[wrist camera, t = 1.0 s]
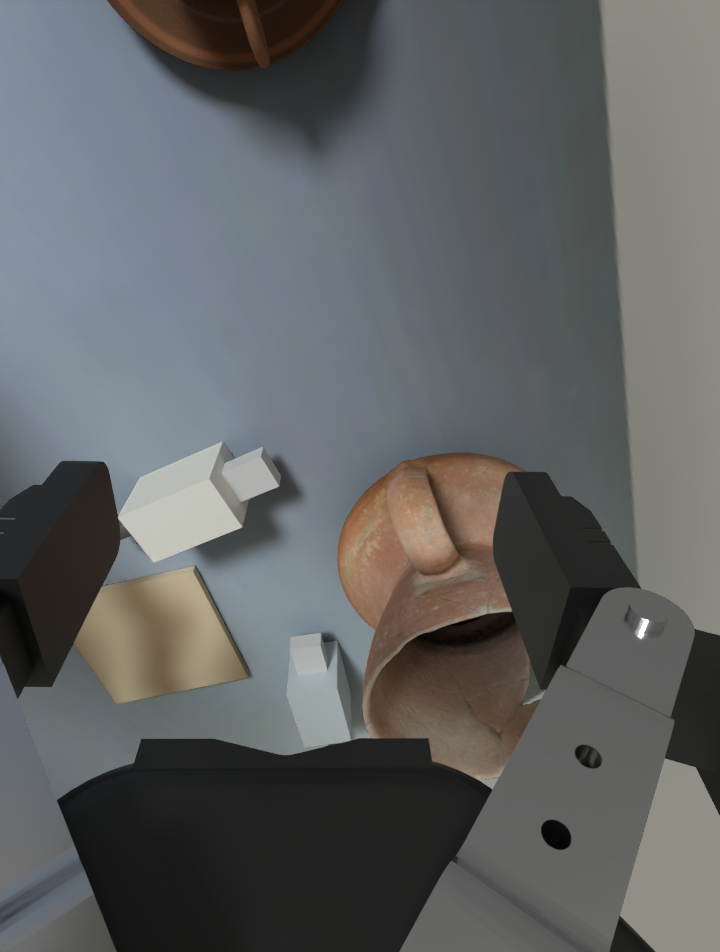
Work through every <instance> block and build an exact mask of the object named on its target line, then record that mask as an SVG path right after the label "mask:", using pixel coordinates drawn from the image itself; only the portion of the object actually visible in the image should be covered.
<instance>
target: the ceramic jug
mask: <svg viewBox="0 0 720 952" xmlns="http://www.w3.org/2000/svg"><path fill="white" fill-rule="evenodd" d="M510 471H511V472H526V471H524V470H523V469H521V468H519V467H517V466H516V465H513V464H511V463H509V462H506V461H504V460H501V459H498V458H494V457H491V456H486V455H481V454H473V453H447V454H439V455H433V456H427V457H421V458H418V459H415V460H408V461H403V462H401V463H400V464H399V465H398V466H397V467H396V468H394V469H393V470H391V471H390V472H389V473H388V474H386V475H385V476H383V477H382V478H381V479H379V480H378V481H377V482H376V483H374V484H373V485H372V486H371V487H370V488H369V489H368V490H367V491H366V492H365V493H364V494H363V495H362V496H361V497H360V499H359V500H358V501H357V503H356V504H355V505H354V507H353V508H352V510H351V512H350V513H349V515H348V517H347V519H346V521H345V523H344V526H343V529H342V532H341V535H340V540H339V545H338V571H339V576H340V581H341V584H342V587H343V589H344V591H345V594H346V596H347V598H348V600H349V601H350V603H351V604H352V606H353V607H354V609H355V610H356V612H357V613H358V614H359V615H360V616H361V618H362V619H363V620H364V621H365V622H366V623H368V624H369V625H370V626H371V627H372V628H373V629H375V630H376V632H375V634H374V638H373V641H372V644H371V648H370V652H369V657H368V661H367V666H366V672H365V678H364V685H363V695H362V710H363V718H364V723H365V725H366V729H367V731H368V733H369V735H370V737H371V738H429V744H430V750H431V757H432V761H433V762H437V763H441V764H444V765H447V766H449V767H452V768H455V769H457V770H460V771H462V772H464V773H466V774H468V775H470V776H472V777H474V778H476V779H477V780H489V779H494V778H499V777H500V775H501V773H502V771H503V769H504V768H505V766H506V764H507V762H508V760H509V758H510V756H511V755H512V753H513V751H514V749H515V747H516V745H517V743H518V742H519V740H520V738H521V736H522V734H523V732H524V731H525V729H526V727H527V725H528V723H529V721H530V719H531V718H532V716H533V714H534V712H535V710H536V708H537V706H538V705H539V703H540V701H541V700H537V701H534V702H533V703H531V704H526V705H522V702H523V699H524V696H525V693H526V691H527V689H528V686H529V682H530V670H531V662H530V659H529V656H528V654H527V651H526V648H525V645H524V643H523V640H522V637H521V634H520V631H519V629H518V626H517V623H516V620H515V618H514V615H513V612H512V609H511V606H510V604H509V601H508V598H507V595H506V593H505V590H504V587H503V584H502V581H501V579H500V576H499V573H498V570H497V568H496V565H495V561H494V556H493V534H494V528H495V523H496V518H497V513H498V508H499V503H500V498H501V493H502V488H503V483H504V479H505V476H506V474H507V473H508V472H510Z"/></svg>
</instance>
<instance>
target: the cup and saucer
mask: <svg viewBox="0 0 720 952" xmlns="http://www.w3.org/2000/svg"><path fill="white" fill-rule="evenodd" d="M107 1H108V2H109V3H110V4H111V6H112V7H113V8H114V9H115V10H116V11H117V13H118V14H119V15H120V16H121V17H122V18H123V19H124V20H125V21H126V22H127V23H128V24H129V25H130V26H131V27H132V28H133V29H134V30H136V31H137V32H138V33H139V34H140V35H142V36H143V37H144V38H145V39H147V40H148V41H149V42H151V43H152V44H154V45H155V46H157V47H158V48H160V49H161V50H163V51H165V52H166V53H168V54H170V55H172V56H174V57H176V58H178V59H181V60H183V61H186V62H188V63H191V64H194V65H197V66H201V67H205V68H210V69H216V70H229V71H237V70H249V69H254V68H259V67H262V68H267V67H268V66H269V64H272V63H275V62H277V61H280V60H282V59H284V58H286V57H288V56H290V55H291V54H293V53H295V52H296V51H298V50H299V49H301V48H302V47H303V46H305V45H306V44H307V43H309V42H310V41H311V40H312V39H313V38H314V37H315V36H316V35H317V34H318V33H319V32H320V31H321V30H322V29H323V28H324V27H325V26H326V25H327V23H328V22H329V21H330V20H331V19H332V17H333V16H334V15H335V13H336V12H337V10H338V9H339V7H340V6H341V4H342V3H343V1H344V0H107Z"/></svg>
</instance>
